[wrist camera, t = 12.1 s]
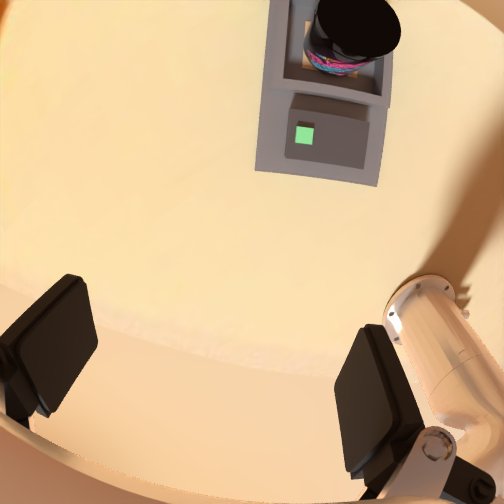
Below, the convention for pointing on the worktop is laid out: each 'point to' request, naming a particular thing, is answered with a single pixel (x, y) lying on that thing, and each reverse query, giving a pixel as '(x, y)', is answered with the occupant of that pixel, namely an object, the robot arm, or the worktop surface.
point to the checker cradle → (318, 107)
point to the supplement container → (350, 35)
